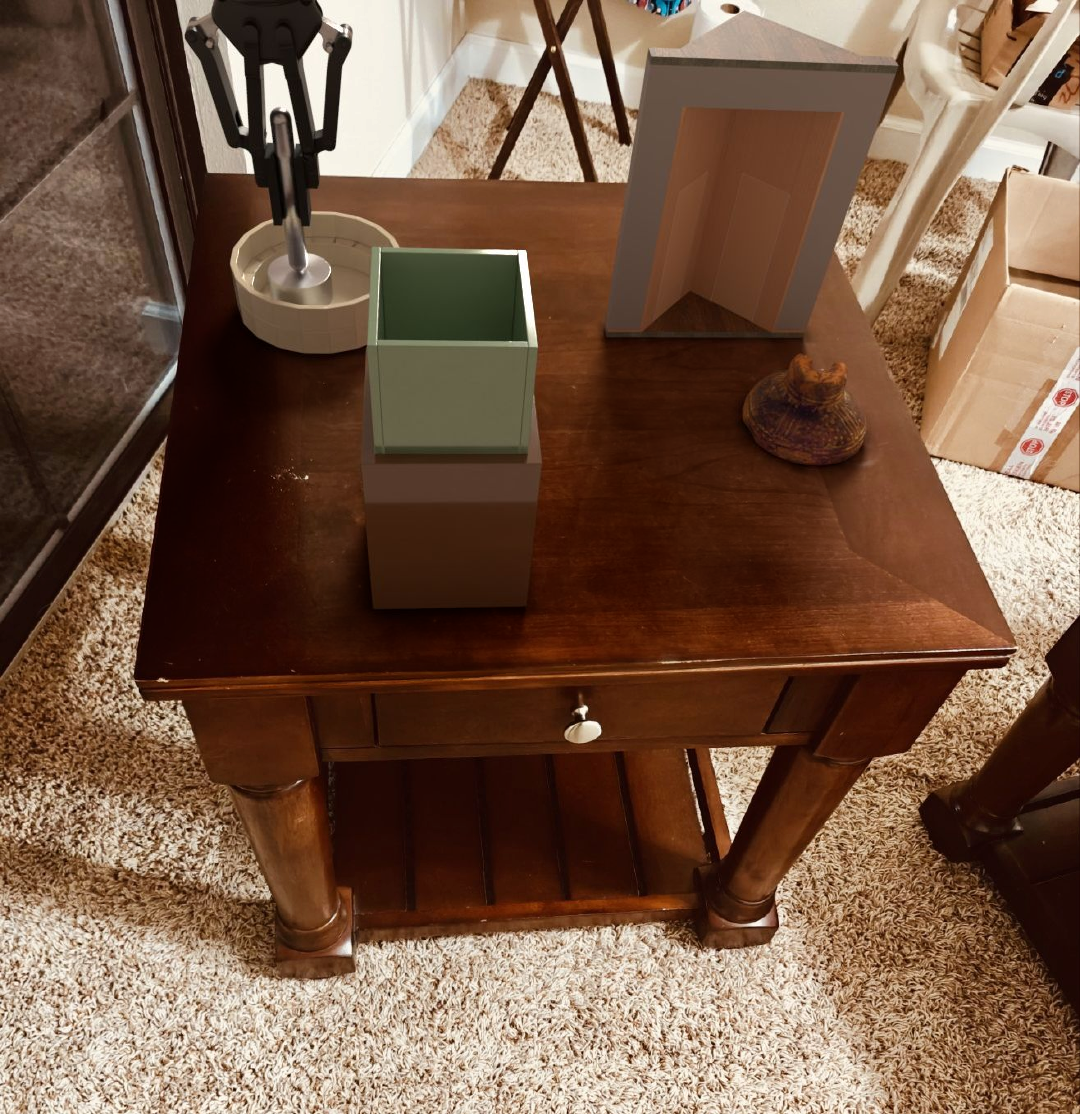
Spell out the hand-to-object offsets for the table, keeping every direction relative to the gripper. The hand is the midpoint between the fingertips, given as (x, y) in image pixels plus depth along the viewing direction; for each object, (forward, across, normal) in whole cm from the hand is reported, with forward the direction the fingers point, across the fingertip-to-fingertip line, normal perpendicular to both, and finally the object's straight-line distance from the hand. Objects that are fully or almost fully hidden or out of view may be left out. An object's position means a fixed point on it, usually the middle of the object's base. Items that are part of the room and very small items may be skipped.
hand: (292, 217), depth 91 cm
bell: (+11, -48, +16) cm, 52 cm away
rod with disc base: (+9, 0, 0) cm, 9 cm away
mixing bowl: (+11, -2, -1) cm, 11 cm away
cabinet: (+11, -41, -2) cm, 42 cm away
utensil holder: (+11, -14, +31) cm, 36 cm away
